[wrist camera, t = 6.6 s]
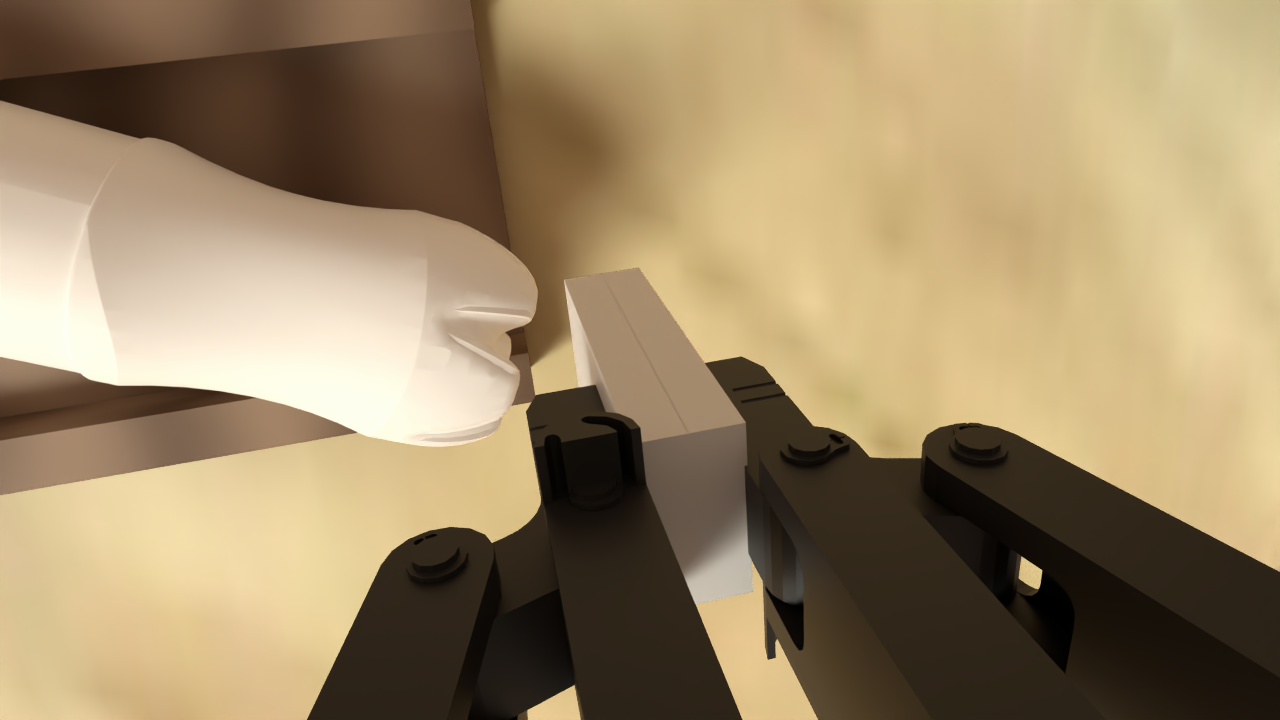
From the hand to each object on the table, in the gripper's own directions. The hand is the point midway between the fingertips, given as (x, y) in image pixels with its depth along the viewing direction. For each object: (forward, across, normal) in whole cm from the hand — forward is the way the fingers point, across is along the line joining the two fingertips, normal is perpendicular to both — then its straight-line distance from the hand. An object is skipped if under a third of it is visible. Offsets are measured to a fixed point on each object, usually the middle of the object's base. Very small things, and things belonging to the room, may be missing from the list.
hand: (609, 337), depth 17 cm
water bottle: (+10, +2, +4) cm, 11 cm away
